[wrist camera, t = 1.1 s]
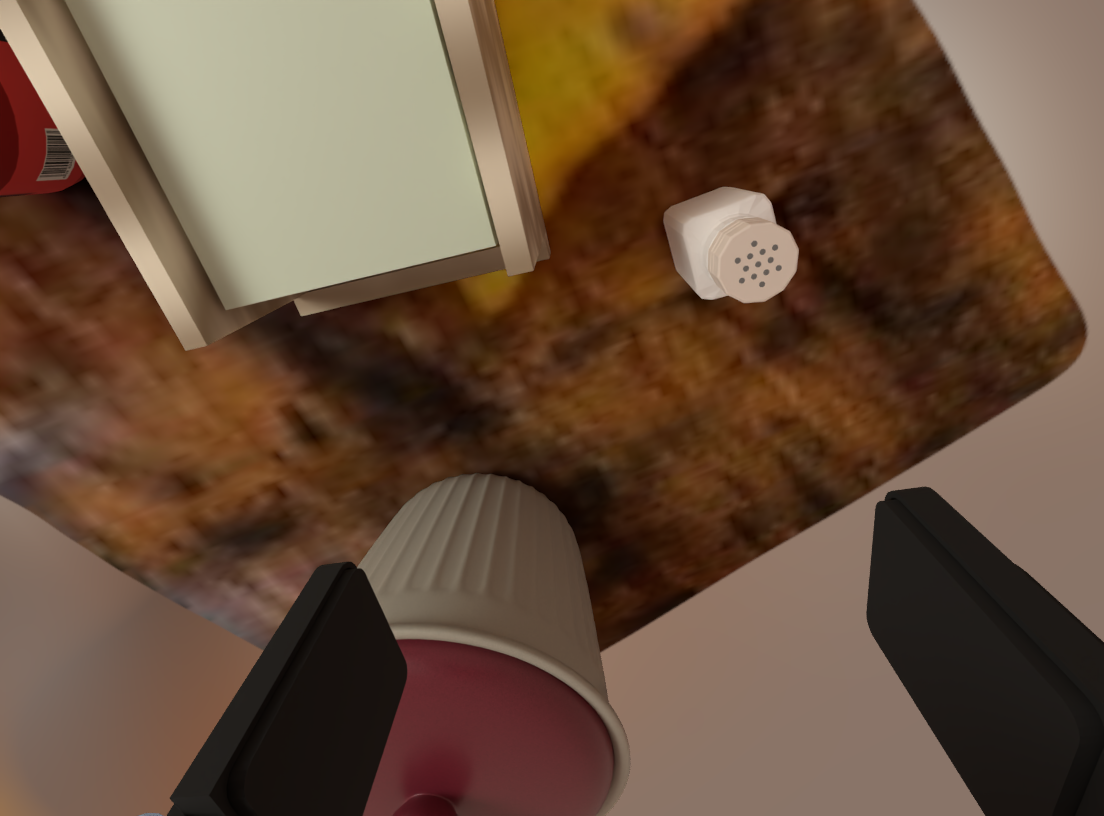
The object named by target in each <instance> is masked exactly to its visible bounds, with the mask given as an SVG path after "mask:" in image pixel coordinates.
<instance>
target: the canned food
mask: <svg viewBox="0 0 1104 816" xmlns="http://www.w3.org/2000/svg"><path fill="white" fill-rule="evenodd" d="M84 177H85V175H84V173H83V171H82V170H81V168H80V166H79V164H78V163H77V161H76V159H75V158H74V156H73V154H72V152H71V151H70V149H69V147H68V145H67V144H66V142H65V140H64V138H63V137H62V135H61V133H60V131H59V130H58V128H57V126H56V125H55V123H54V121H53V119H52V118H51V116H50V114H49V112H48V111H47V109H46V107H45V105H44V104H43V102H42V100H41V98H40V97H39V95H38V93H37V91H36V90H35V88H34V86H33V85H32V83H31V81H30V79H29V78H28V76H27V74H26V72H25V71H24V69H23V67H22V65H21V64H20V62H19V60H18V58H17V57H16V55H15V53H14V52H13V50H12V48H11V46H10V45H9V43H8V41H7V39H6V38H5V36H4V34H3V32H2V31H1V29H0V197H6V196H19V195H31V194H44V193H52V192H57V191H62V190H64V189H66V188H68V187H70V186H72V185H74V184H75V183H77V182H79V181H81V180H82V179H83V178H84Z"/></svg>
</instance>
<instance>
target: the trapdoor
mask: <svg viewBox="0 0 1104 816" xmlns="http://www.w3.org/2000/svg"><path fill="white" fill-rule="evenodd" d="M65 2H66V4H67V6H68V8H69V10H70V12H71V14H72V16H73V18H74V19H75V21H76V23H77V25H78V27H79V29H80V31H81V33H82V35H83V37H84V39H85V41H86V42H87V44H88V46H89V48H90V50H91V52H92V54H93V56H94V58H95V60H96V62H97V64H98V66H99V67H100V69H101V71H102V73H103V75H104V77H105V79H106V81H107V83H108V85H109V87H110V89H111V91H112V92H113V94H114V96H115V98H116V100H117V102H118V104H119V106H120V108H121V110H122V112H123V114H124V116H125V117H126V119H127V121H128V123H129V125H130V127H131V129H132V131H133V133H134V135H135V137H136V139H137V141H138V142H139V144H140V146H141V148H142V150H143V152H144V154H145V156H146V158H147V160H148V162H149V164H150V165H151V167H152V169H153V171H154V173H155V175H156V177H157V179H158V181H159V183H160V185H161V187H162V189H163V190H164V192H165V194H166V196H167V198H168V200H169V202H170V204H171V206H172V208H173V210H174V212H175V214H176V215H177V217H178V219H179V221H180V223H181V225H182V227H183V229H184V231H185V233H186V235H187V237H188V239H189V240H190V242H191V244H192V246H193V248H194V250H195V252H196V254H197V256H198V258H199V260H200V262H201V264H202V265H203V267H204V269H205V271H206V273H207V275H208V277H209V279H210V281H211V283H212V285H213V287H214V288H215V290H216V292H217V294H218V296H219V298H220V300H221V302H222V304H223V306H224V308H225V310H229V309H233V308H237V307H241V306H246V305H250V304H254V303H258V302H262V301H267V300H271V299H275V298H279V297H283V296H288V295H292V294H296V293H300V292H304V291H308V290H313V289H317V288H321V287H325V286H329V285H334V284H338V283H342V282H346V281H350V280H355V279H359V278H363V277H367V276H371V275H376V274H380V273H384V272H388V271H392V270H397V269H401V268H405V267H409V266H413V265H417V264H422V263H426V262H430V261H434V260H438V259H443V258H447V257H451V256H455V255H459V254H464V253H468V252H472V251H476V250H480V249H485V248H489V247H493V246H496V245H497V244H498V242H499V241H498V237H497V234H496V230H495V226H494V222H493V218H492V215H491V211H490V207H489V203H488V200H487V196H486V192H485V188H484V185H483V181H482V177H481V173H480V170H479V166H478V162H477V158H476V155H475V151H474V147H473V143H472V140H471V136H470V132H469V128H468V125H467V121H466V117H465V113H464V110H463V106H462V102H461V98H460V95H459V91H458V87H457V83H456V80H455V76H454V72H453V68H452V64H451V61H450V57H449V53H448V49H447V46H446V42H445V38H444V34H443V31H442V27H441V23H440V19H439V16H438V12H437V8H436V4H435V1H434V0H65Z"/></svg>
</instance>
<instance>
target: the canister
mask: <svg viewBox="0 0 1104 816" xmlns="http://www.w3.org/2000/svg"><path fill="white" fill-rule="evenodd" d="M357 568H361V569H363V570H364V572H365V574H366V576H367V578H368V580H369V582H370V584H371V587H372V589H373V591H374V593H375V595H376V597H377V599H378V602H379V604H380V606H381V608H382V610H383V612H384V615H385V617H386V619H387V621H388V623H389V625H390V628H391V630H392V632H393V634H394V636H395V638H396V641H397V643H398V645H399V647H400V649H401V651H402V654H403V656H404V658H405V660H406V663H407V680H406V684H405V687H404V690H403V693H402V697H401V700H400V703H399V706H398V709H397V712H396V715H395V718H394V721H393V724H392V727H391V730H390V733H389V736H388V739H387V743H386V746H385V749H384V752H383V755H382V758H381V761H380V764H379V767H378V770H377V773H376V776H375V779H374V782H373V786H372V789H371V792H370V795H369V798H368V801H367V804H366V807H365V810H364V813H363V816H606V814H607V813H609V811H610V810H611V809H612V808H613V807H614V805H615V804H616V803H617V801H618V800H619V798H620V796H621V795H622V793H623V791H624V789H625V786H626V784H627V781H628V777H629V772H630V749H629V743H628V739H627V736H626V733H625V730H624V728H623V725H622V724H621V722H620V720H619V718H618V716H617V714H616V713H615V711H614V709H613V708H612V707H611V705H610V704H609V701H608V695H607V689H606V683H605V677H604V671H603V666H602V661H601V656H600V650H599V645H598V640H597V634H596V628H595V623H594V617H593V612H592V606H591V601H590V596H589V591H588V586H587V581H586V577H585V572H584V568H583V563H582V558H581V554H580V550H579V547H578V544H577V542H576V538H575V535H574V532H573V530H572V528H571V526H570V525H569V524H568V522H567V519H566V517H565V516H564V514H563V513H562V512H560V511H559V510H558V508H557V506H556V505H555V504H554V503H553V502H551V501H550V500H548V499H547V497H546V496H545V495H544V494H543V493H540V492H538V491H536V490H535V489H534V487H532V486H528V485H526V484H524V483H522V482H521V481H520V480H513V479H510V478H508V477H507V476H498V475H494V474H480V473H475V474H470V475H467V474H462V475H460V476H457V477H448V478H446V479H445V480H443V481H440V482H435V483H433V484H432V485H430V486H429V487H428V488H425V489H423V490H421V491H420V492H419V493H417V494H416V495H415V496H414V498H412V499H411V500H409V501H408V502H407V503H406V504H405V505H404V506H403V507H402V508H401V510H400V511H399V512H398V513H397V515H396V516H395V517H394V518H393V519H392V521H391V522H390V523H389V525H388V526H387V527H386V529H385V530H384V531H383V533H382V534H381V535H380V537H379V538H378V539H377V541H376V542H375V543H374V545H373V546H372V547H371V549H370V550H369V551H368V553H367V554H366V556H365V557H364V558H363V560H362V561H361V563H360V564H359V566H358V567H357Z"/></svg>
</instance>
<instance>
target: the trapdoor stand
mask: <svg viewBox="0 0 1104 816" xmlns="http://www.w3.org/2000/svg"><path fill="white" fill-rule="evenodd" d="M434 1H435V4H436V8H437V12H438V16H439V19H440V23H441V27H442V31H443V34H444V38H445V42H446V46H447V49H448V53H449V57H450V61H451V64H452V68H453V72H454V76H455V80H456V83H457V87H458V91H459V95H460V98H461V102H462V106H463V110H464V113H465V117H466V121H467V125H468V128H469V132H470V136H471V140H472V143H473V147H474V151H475V155H476V158H477V162H478V166H479V170H480V173H481V177H482V181H483V185H484V188H485V192H486V196H487V200H488V203H489V207H490V211H491V215H492V218H493V222H494V226H495V230H496V234H497V237H498V241H499V242H498V244H497V245H496V246H493V247H489V248H485V249H480V250H476V251H472V252H468V253H464V254H459V255H455V256H451V257H447V258H443V259H438V260H434V261H430V262H426V263H422V264H417V265H413V266H409V267H405V268H401V269H397V270H392V271H388V272H384V273H380V274H376V275H371V276H367V277H363V278H359V279H355V280H350V281H346V282H342V283H338V284H334V285H329V286H325V287H321V288H317V289H313V290H308V291H304V292H300V293H296V294H292V295H288V296H283V297H279V298H275V299H271V300H267V301H262V302H258V303H254V304H250V305H246V306H241V307H237V308H233V309H229V310H225V308H224V306H223V304H222V302H221V300H220V298H219V296H218V294H217V292H216V290H215V288H214V287H213V285H212V283H211V281H210V279H209V277H208V275H207V273H206V271H205V269H204V267H203V265H202V264H201V262H200V260H199V258H198V256H197V254H196V252H195V250H194V248H193V246H192V244H191V242H190V240H189V239H188V237H187V235H186V233H185V231H184V229H183V227H182V225H181V223H180V221H179V219H178V217H177V215H176V214H175V212H174V210H173V208H172V206H171V204H170V202H169V200H168V198H167V196H166V194H165V192H164V190H163V189H162V187H161V185H160V183H159V181H158V179H157V177H156V175H155V173H154V171H153V169H152V167H151V165H150V164H149V162H148V160H147V158H146V156H145V154H144V152H143V150H142V148H141V146H140V144H139V142H138V141H137V139H136V137H135V135H134V133H133V131H132V129H131V127H130V125H129V123H128V121H127V119H126V117H125V116H124V114H123V112H122V110H121V108H120V106H119V104H118V102H117V100H116V98H115V96H114V94H113V92H112V91H111V89H110V87H109V85H108V83H107V81H106V79H105V77H104V75H103V73H102V71H101V69H100V67H99V66H98V64H97V62H96V60H95V58H94V56H93V54H92V52H91V50H90V48H89V46H88V44H87V42H86V41H85V39H84V37H83V35H82V33H81V31H80V29H79V27H78V25H77V23H76V21H75V19H74V18H73V16H72V14H71V12H70V10H69V8H68V6H67V4H66V2H65V0H0V29H1V31H2V32H3V34H4V36H5V38H6V39H7V41H8V43H9V45H10V46H11V48H12V50H13V52H14V53H15V55H16V57H17V58H18V60H19V62H20V64H21V65H22V67H23V69H24V71H25V72H26V74H27V76H28V78H29V79H30V81H31V83H32V85H33V86H34V88H35V90H36V91H37V93H38V95H39V97H40V98H41V100H42V102H43V104H44V105H45V107H46V109H47V111H48V112H49V114H50V116H51V118H52V119H53V121H54V123H55V125H56V126H57V128H58V130H59V131H60V133H61V135H62V137H63V138H64V140H65V142H66V144H67V145H68V147H69V149H70V151H71V152H72V154H73V156H74V158H75V159H76V161H77V163H78V164H79V166H80V168H81V170H82V171H83V173H84V175H85V177H86V178H87V180H88V182H89V184H90V185H91V187H92V189H93V191H94V192H95V194H96V196H97V197H98V199H99V201H100V203H101V204H102V206H103V208H104V210H105V211H106V213H107V215H108V217H109V218H110V220H111V222H112V224H113V225H114V227H115V229H116V230H117V232H118V234H119V236H120V237H121V239H122V241H123V243H124V244H125V246H126V248H127V250H128V251H129V253H130V255H131V257H132V258H133V260H134V262H135V263H136V265H137V267H138V269H139V270H140V272H141V274H142V276H143V277H144V279H145V281H146V283H147V284H148V286H149V288H150V290H151V291H152V293H153V295H154V296H155V298H156V300H157V302H158V303H159V305H160V307H161V309H162V310H163V312H164V314H165V316H166V317H167V319H168V321H169V323H170V324H171V326H172V328H173V329H174V331H175V333H176V335H177V336H178V338H179V340H180V342H181V343H182V345H183V347H184V349H185V350H191V349H195V348H199V347H204V346H208V345H209V344H211V343H213V342H215V341H217V340H219V339H221V338H223V337H225V336H226V335H228V334H230V333H232V332H234V331H236V330H238V329H240V328H242V327H243V326H245V325H247V324H249V323H251V322H253V321H255V320H257V319H259V318H260V317H262V316H264V315H266V314H268V313H270V312H272V311H274V310H276V309H277V308H279V307H281V306H283V305H285V304H287V303H289V302H291V301H293V300H294V302H295V304H296V306H297V308H298V311H299V313H300V315H301V316H304V315H309V314H313V313H317V312H322V311H326V310H330V309H335V308H339V307H343V306H347V305H352V304H356V303H360V302H365V301H369V300H373V299H378V298H382V297H386V296H391V295H395V294H399V293H403V292H408V291H412V290H416V289H421V288H425V287H429V286H434V285H438V284H442V283H447V282H451V281H455V280H460V279H464V278H468V277H472V276H477V275H481V274H485V273H490V272H494V271H498V270H503V269H506V271H507V275H508V276H513V275H517V274H521V273H526V272H530V271H534V268H535V265H536V262H537V261H541V260H546V259H550V254H551V251H550V247H549V242H548V238H547V233H546V229H545V224H544V220H543V216H542V211H541V207H540V202H539V198H538V193H537V189H536V184H535V180H534V176H533V171H532V167H531V162H530V158H529V153H528V149H527V145H526V140H525V136H524V131H523V127H522V122H521V118H520V113H519V109H518V105H517V100H516V96H515V91H514V87H513V82H512V78H511V74H510V69H509V65H508V60H507V56H506V51H505V47H504V42H503V38H502V34H501V29H500V25H499V20H498V16H497V11H496V7H495V3H494V0H434Z"/></svg>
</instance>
